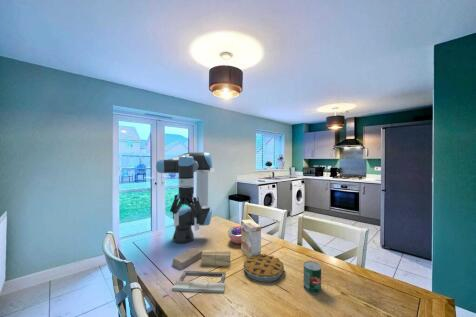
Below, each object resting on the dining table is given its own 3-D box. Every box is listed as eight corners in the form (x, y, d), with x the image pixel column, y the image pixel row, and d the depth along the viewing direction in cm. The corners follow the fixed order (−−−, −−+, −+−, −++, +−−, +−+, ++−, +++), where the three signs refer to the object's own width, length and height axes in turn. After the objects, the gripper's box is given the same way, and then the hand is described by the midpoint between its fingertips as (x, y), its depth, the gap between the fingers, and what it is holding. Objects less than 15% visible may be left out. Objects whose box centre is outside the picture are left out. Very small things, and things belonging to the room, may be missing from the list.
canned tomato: (307, 281, 100) (307, 259, 100) (323, 287, 95) (323, 264, 95) (300, 289, 94) (300, 265, 94) (318, 296, 89) (318, 272, 89)
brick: (181, 270, 110) (181, 261, 110) (171, 265, 114) (171, 257, 114) (202, 257, 124) (202, 250, 124) (193, 254, 128) (193, 246, 128)
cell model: (256, 239, 150) (256, 224, 150) (242, 250, 133) (242, 233, 133) (237, 234, 159) (237, 220, 159) (222, 244, 142) (222, 228, 142)
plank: (203, 260, 120) (203, 250, 120) (230, 261, 119) (230, 251, 119) (201, 264, 115) (201, 254, 115) (229, 266, 114) (229, 255, 114)
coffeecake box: (240, 249, 134) (240, 220, 134) (250, 247, 137) (250, 218, 136) (251, 260, 120) (251, 227, 120) (261, 257, 123) (261, 226, 123)
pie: (286, 264, 116) (286, 255, 116) (281, 288, 95) (281, 277, 95) (249, 258, 123) (249, 249, 123) (237, 278, 102) (237, 269, 102)
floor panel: (182, 272, 107) (182, 270, 107) (227, 274, 105) (227, 272, 105) (172, 290, 93) (172, 287, 93) (223, 292, 91) (223, 290, 91)
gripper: (162, 185, 105) (163, 226, 106) (201, 189, 94) (201, 234, 94) (173, 183, 112) (173, 221, 112) (210, 187, 101) (210, 229, 101)
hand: (186, 227), depth 103 cm, fingers open, 13 cm apart
